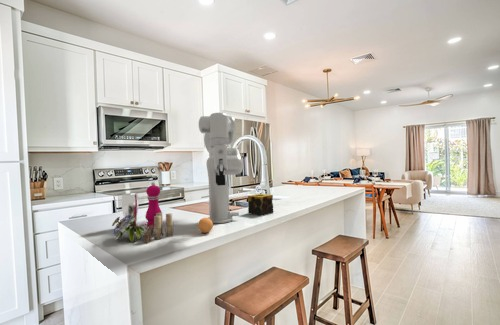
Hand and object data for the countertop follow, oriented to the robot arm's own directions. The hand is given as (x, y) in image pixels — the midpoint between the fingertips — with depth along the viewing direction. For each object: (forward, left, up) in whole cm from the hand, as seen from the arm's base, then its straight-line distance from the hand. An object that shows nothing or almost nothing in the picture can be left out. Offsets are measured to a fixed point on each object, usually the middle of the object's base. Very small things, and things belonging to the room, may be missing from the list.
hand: (220, 184), depth 108 cm
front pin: (+20, +1, -19) cm, 28 cm away
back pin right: (+24, -2, -19) cm, 31 cm away
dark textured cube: (-26, -30, -20) cm, 44 cm away
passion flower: (+35, 0, -20) cm, 40 cm away
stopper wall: (+28, +1, -19) cm, 34 cm away
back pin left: (+24, +4, -19) cm, 31 cm away
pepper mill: (+28, -19, -19) cm, 39 cm away
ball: (+6, +1, -16) cm, 17 cm away
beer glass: (+38, -19, -19) cm, 47 cm away
